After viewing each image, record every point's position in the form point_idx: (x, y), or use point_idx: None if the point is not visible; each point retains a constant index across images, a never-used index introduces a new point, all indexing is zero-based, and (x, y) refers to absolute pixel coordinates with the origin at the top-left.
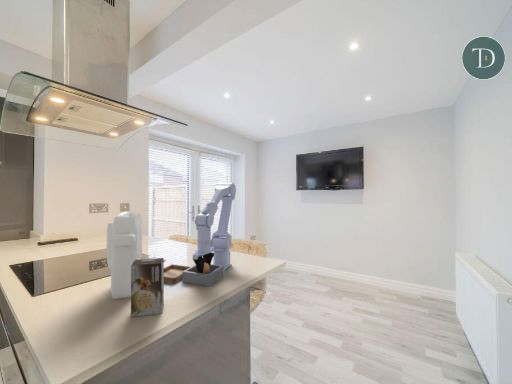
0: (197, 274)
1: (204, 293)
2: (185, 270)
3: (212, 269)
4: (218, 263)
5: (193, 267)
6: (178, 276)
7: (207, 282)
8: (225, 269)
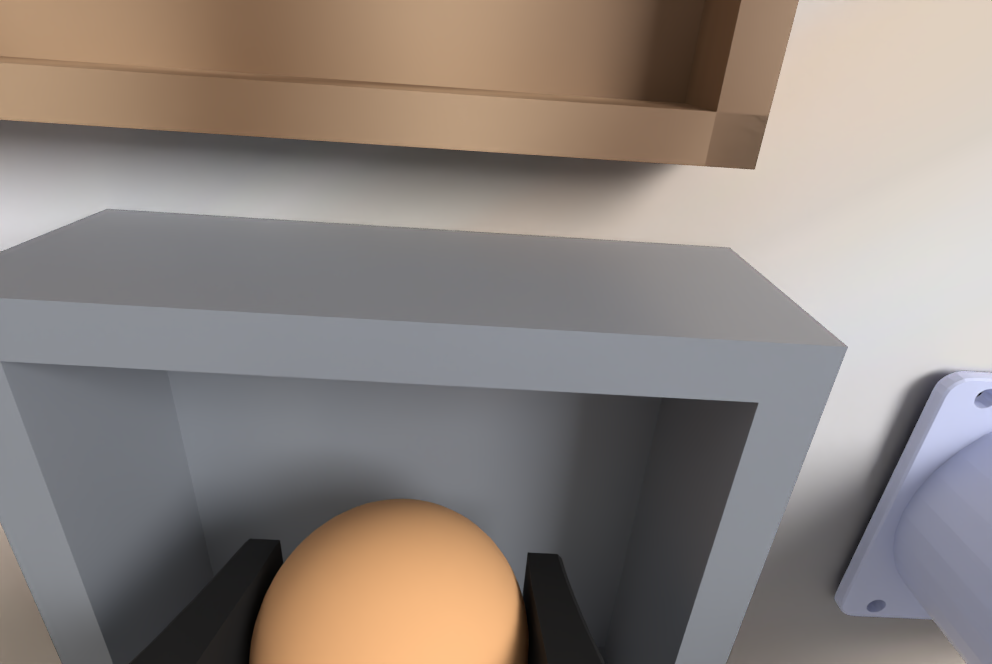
0: (67, 637)
1: (20, 654)
2: (24, 332)
3: (645, 599)
4: (971, 622)
5: (405, 374)
6: (2, 114)
7: None
8: (884, 609)
